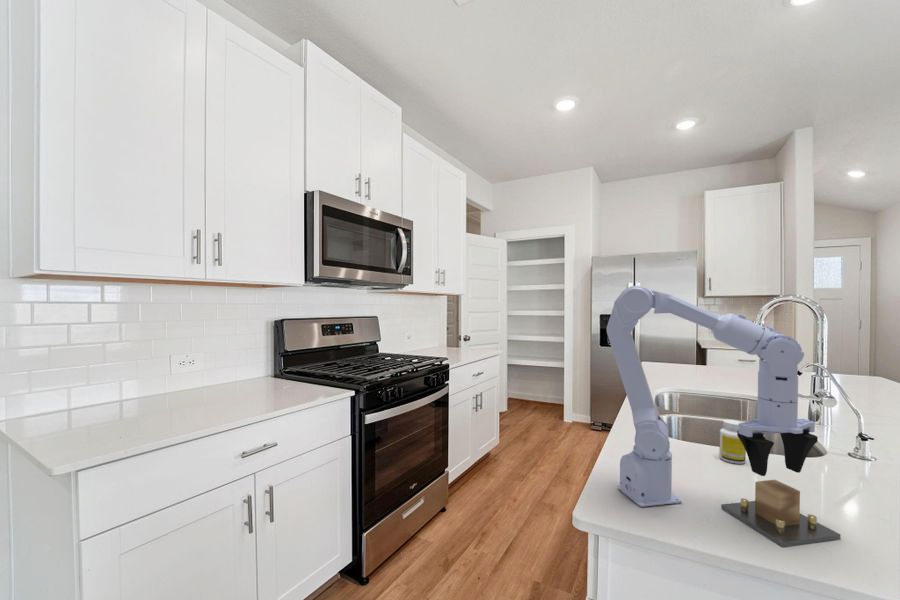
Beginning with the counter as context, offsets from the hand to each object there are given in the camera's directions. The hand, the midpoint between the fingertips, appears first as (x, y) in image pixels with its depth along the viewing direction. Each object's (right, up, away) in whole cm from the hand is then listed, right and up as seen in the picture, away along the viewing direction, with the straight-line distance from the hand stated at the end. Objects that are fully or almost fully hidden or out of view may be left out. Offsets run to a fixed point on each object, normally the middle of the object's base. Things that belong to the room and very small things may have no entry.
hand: (776, 471), depth 73 cm
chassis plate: (0, -9, 0) cm, 9 cm away
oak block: (0, -9, 0) cm, 9 cm away
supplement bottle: (+11, -9, +27) cm, 31 cm away
